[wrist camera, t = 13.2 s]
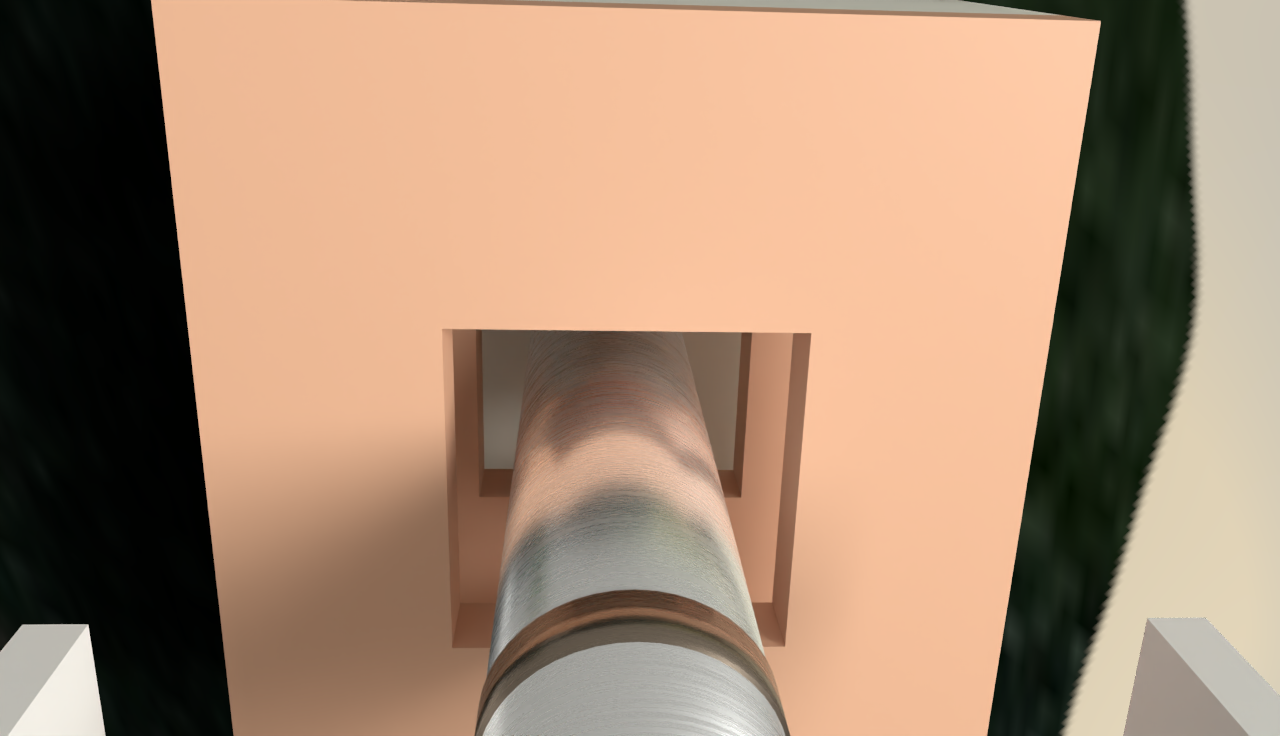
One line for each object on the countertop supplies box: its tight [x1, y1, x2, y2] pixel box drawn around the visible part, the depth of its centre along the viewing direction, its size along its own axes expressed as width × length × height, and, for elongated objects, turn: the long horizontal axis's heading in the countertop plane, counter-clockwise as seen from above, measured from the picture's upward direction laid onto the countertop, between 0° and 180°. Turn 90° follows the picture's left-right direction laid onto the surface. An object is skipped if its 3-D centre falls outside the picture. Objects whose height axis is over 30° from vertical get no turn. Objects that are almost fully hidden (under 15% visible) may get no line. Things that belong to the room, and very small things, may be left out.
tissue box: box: [151, 0, 1101, 736], centre depth 25 cm, size 16×14×12 cm
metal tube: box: [474, 330, 790, 736], centre depth 20 cm, size 4×4×20 cm
